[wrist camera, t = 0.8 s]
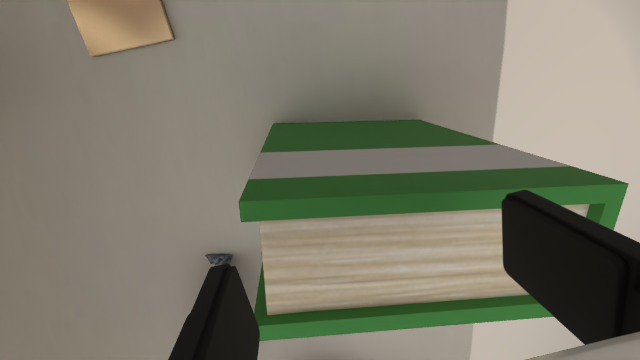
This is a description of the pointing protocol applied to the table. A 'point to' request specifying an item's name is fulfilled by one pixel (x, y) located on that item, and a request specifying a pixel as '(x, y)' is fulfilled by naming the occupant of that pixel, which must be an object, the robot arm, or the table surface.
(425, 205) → the hardback book
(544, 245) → the robot arm
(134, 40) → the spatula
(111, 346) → the table surface
